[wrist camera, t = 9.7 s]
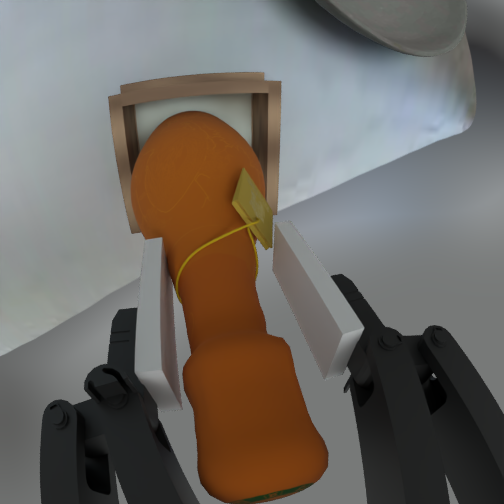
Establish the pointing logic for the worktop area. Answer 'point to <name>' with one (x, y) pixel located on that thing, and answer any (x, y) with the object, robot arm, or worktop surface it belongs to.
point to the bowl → (404, 23)
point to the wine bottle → (226, 309)
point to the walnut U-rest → (205, 100)
